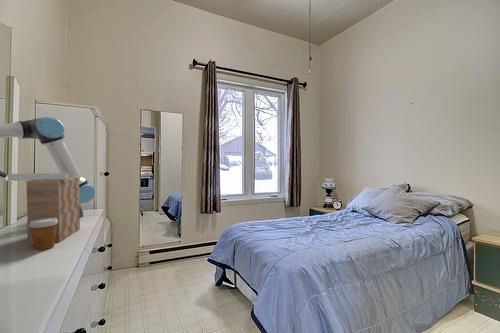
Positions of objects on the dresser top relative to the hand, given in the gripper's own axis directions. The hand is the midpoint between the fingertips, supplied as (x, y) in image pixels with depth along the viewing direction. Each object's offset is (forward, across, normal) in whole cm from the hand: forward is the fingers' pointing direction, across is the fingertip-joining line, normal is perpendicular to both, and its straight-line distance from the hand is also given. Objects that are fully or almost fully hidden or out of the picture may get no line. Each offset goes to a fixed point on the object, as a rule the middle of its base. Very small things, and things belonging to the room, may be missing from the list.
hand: (6, 188), depth 118 cm
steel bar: (+7, +19, -4) cm, 21 cm away
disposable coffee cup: (+22, +13, -31) cm, 40 cm away
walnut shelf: (+27, +3, -17) cm, 32 cm away
